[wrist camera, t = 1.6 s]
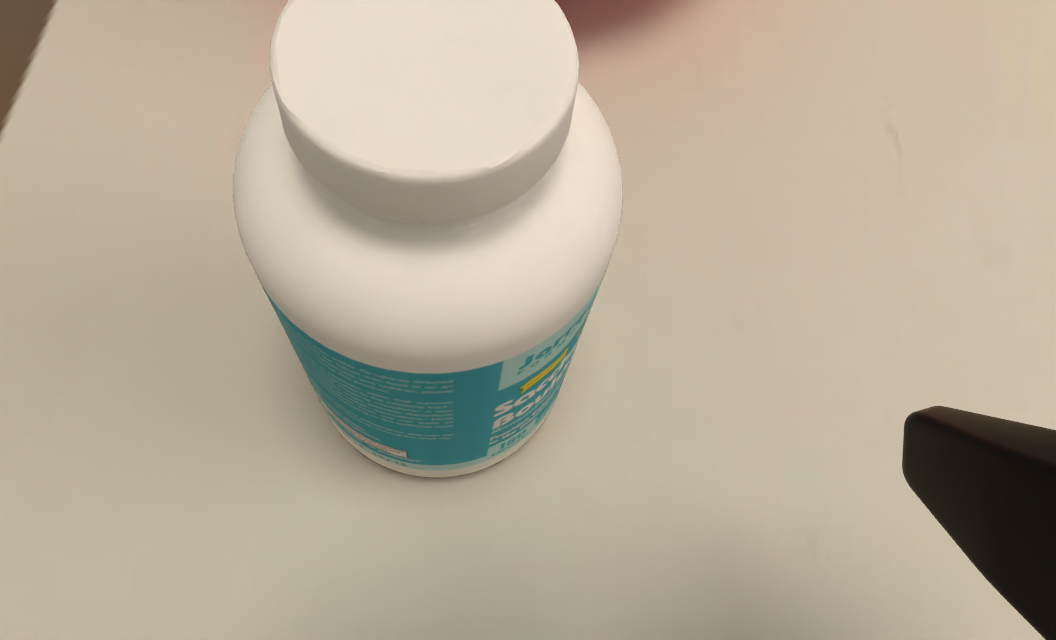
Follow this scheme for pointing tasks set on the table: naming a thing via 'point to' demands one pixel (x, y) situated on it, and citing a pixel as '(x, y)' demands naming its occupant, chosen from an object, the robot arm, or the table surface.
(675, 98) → the table surface
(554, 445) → the table surface
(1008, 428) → the robot arm
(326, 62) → the pill bottle
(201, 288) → the table surface
